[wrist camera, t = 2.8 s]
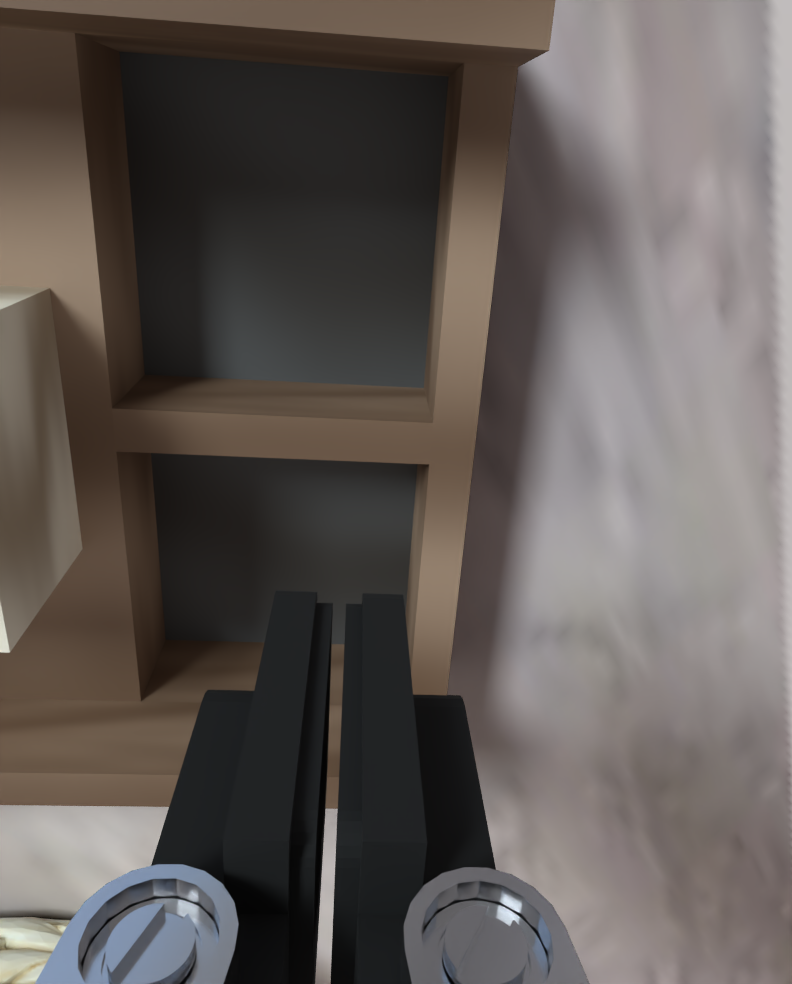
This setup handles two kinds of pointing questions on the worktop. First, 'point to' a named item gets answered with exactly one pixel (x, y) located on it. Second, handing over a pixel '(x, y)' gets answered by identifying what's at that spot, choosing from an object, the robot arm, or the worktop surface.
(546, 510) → the worktop surface
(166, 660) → the box
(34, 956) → the storage basket
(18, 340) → the birch block
